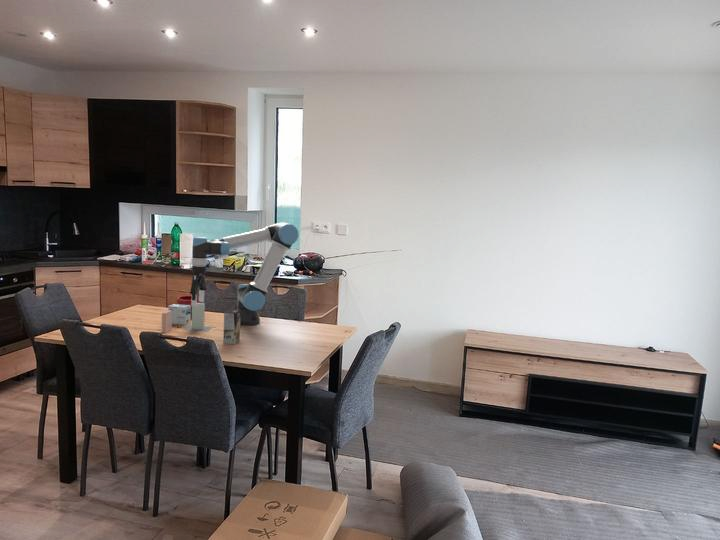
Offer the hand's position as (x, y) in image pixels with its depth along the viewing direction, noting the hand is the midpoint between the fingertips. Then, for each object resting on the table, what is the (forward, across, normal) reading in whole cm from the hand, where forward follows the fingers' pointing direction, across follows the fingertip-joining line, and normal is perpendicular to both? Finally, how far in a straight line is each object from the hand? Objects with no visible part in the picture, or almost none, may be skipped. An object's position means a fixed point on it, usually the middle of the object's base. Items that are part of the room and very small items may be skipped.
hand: (197, 303), depth 301 cm
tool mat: (+14, 0, 0) cm, 14 cm away
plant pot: (+15, -30, -14) cm, 37 cm away
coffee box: (+14, +22, +24) cm, 36 cm away
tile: (+15, +9, -14) cm, 22 cm away
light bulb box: (+15, -11, -14) cm, 23 cm away
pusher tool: (+14, 0, 0) cm, 14 cm away
